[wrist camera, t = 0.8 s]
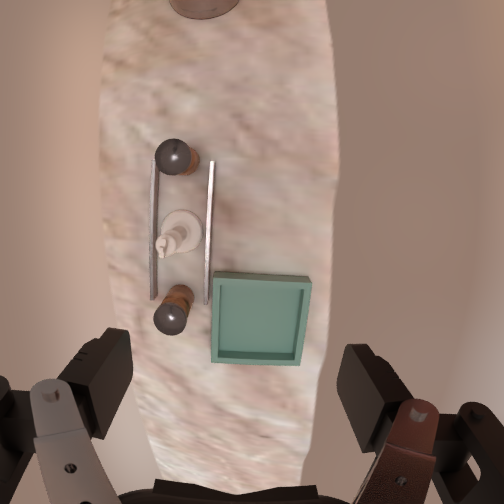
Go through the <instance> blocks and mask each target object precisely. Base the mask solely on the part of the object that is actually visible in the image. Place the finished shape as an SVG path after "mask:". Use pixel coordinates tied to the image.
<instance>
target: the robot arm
mask: <svg viewBox="0 0 504 504" xmlns="http://www.w3.org/2000/svg"><path fill="white" fill-rule="evenodd" d="M169 1H170V4H171V6H172V7H173V9H174V10H175V11H176V12H178V13H179V14H180V15H183V16H185V17H189V18H193V19H206V18H212V17H216V16H219V15H222V14H224V13H226V12H227V11H229V10H231V9H232V8H233V7H234V6H235V5H236V4H237V3H238V1H239V0H169ZM132 376H133V361H132V352H131V343H130V335H129V332H128V330H123V329H116V328H107V329H106V331H105V332H104V333H103V335H102V336H101V337H100V338H99V339H97V338H94V339H93V340H91V341H89V342H87V343H85V344H84V345H83V346H82V348H81V349H80V350H79V351H78V353H77V354H76V355H75V356H74V358H73V359H72V360H71V361H70V362H69V364H68V365H67V366H66V367H65V369H64V370H63V371H62V373H61V374H60V375H59V376H58V378H57V379H46V380H42V381H40V382H38V383H36V384H35V385H34V386H33V387H32V388H31V390H30V391H19V390H11V387H10V385H9V382H8V380H7V379H6V378H5V377H3V376H0V504H9V503H10V501H11V499H12V497H13V495H14V492H15V490H16V488H17V486H18V484H19V482H20V480H21V478H22V475H23V473H24V471H25V469H26V467H27V465H28V463H29V461H30V459H31V457H32V456H33V454H34V453H36V454H37V458H38V461H39V466H40V470H41V474H42V477H43V481H44V484H45V487H46V491H47V494H48V497H49V500H50V503H51V504H350V503H348V502H345V501H342V500H339V499H336V498H332V497H328V496H323V495H318V492H317V488H316V485H309V486H294V487H276V488H272V489H267V490H262V491H257V492H252V493H247V494H241V495H234V494H229V493H225V492H221V491H217V490H214V489H210V488H206V487H203V486H200V485H196V484H190V483H182V482H174V481H167V480H160V479H155V483H154V487H153V489H142V490H136V491H131V492H128V493H124V494H121V495H119V496H117V494H116V492H115V490H114V489H113V487H112V485H111V483H110V481H109V479H108V477H107V475H106V473H105V471H104V469H103V467H102V465H101V462H100V460H99V458H98V456H97V454H96V452H95V449H94V447H93V444H92V442H91V439H92V437H94V438H98V439H102V440H104V438H105V436H106V434H107V431H108V429H109V427H110V425H111V423H112V420H113V418H114V416H115V414H116V412H117V410H118V407H119V405H120V403H121V401H122V399H123V397H124V394H125V392H126V390H127V388H128V386H129V384H130V382H131V380H132ZM337 392H338V395H339V397H340V399H341V402H342V404H343V407H344V409H345V412H346V414H347V416H348V419H349V421H350V424H351V426H352V428H353V431H354V433H355V436H356V438H357V441H358V443H359V445H360V448H361V451H362V453H368V452H375V453H376V457H375V459H374V461H373V463H372V465H371V467H370V469H369V471H368V473H367V475H366V477H365V479H364V481H363V483H362V485H361V487H360V489H359V490H358V492H357V494H356V496H355V497H354V499H353V501H352V503H351V504H424V502H425V499H426V495H427V492H428V488H429V485H430V481H431V479H432V481H433V483H434V485H435V487H436V489H437V492H438V494H439V496H440V498H441V500H442V502H443V504H504V426H503V425H502V424H501V422H500V421H499V420H498V419H497V417H496V416H495V415H494V414H493V413H492V411H491V410H490V409H489V408H488V407H486V406H485V405H483V404H481V403H477V402H467V403H465V404H463V405H462V406H461V408H460V409H459V412H458V413H457V414H439V412H438V410H437V408H436V407H435V406H434V405H433V404H431V403H430V402H428V401H425V400H422V399H414V398H413V396H412V395H411V393H410V392H409V391H408V389H407V388H406V386H405V385H404V383H403V382H402V381H401V379H399V376H398V375H397V374H396V372H394V370H393V368H392V367H391V365H390V364H389V363H388V362H387V361H385V360H384V359H383V358H381V357H380V356H375V354H374V353H373V351H372V350H371V349H370V347H369V346H368V345H367V344H347V346H346V347H345V350H344V354H343V358H342V362H341V366H340V370H339V373H338V378H337ZM471 455H472V456H473V457H474V459H475V461H476V462H477V464H478V466H479V468H480V471H481V476H480V480H479V481H478V480H477V479H476V477H475V475H474V473H473V472H472V470H471V468H470V466H469V465H468V463H467V461H468V460H469V458H470V457H471Z"/></svg>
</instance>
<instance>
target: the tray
mask: <svg viewBox="0 0 504 504" xmlns="http://www.w3.org/2000/svg"><path fill="white" fill-rule="evenodd" d="M311 289H312V282H311V280H310V279H309V277H305V276H285V275H267V274H249V273H232V272H215V273H214V276H213V297H212V337H211V363H226V364H246V365H278V366H300V362H301V356H302V350H303V344H304V337H305V331H306V324H307V317H308V311H309V303H310V296H311Z"/></svg>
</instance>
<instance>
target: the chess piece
mask: <svg viewBox="0 0 504 504" xmlns="http://www.w3.org/2000/svg"><path fill="white" fill-rule="evenodd" d="M202 237H203V226H202V223H201V221H200V220H199V218H198V217H197V216H196V215H195V214H193V213H192V212H190V211H187V210H177V211H174V212H172V213H170V214H169V215H168V216H167V217H166V218H165V219H164V221H163V223H162V226H161V236H159V237H158V239H157V240H156V249H157V251H158V253H159V258H163V259H164V258H165V256H170V255H172V254H173V253H174V252H178V253H186V252H189V251H191V250H193V249H195V248H196V247H197V246H198V245H199V244H200V242H201V240H202Z"/></svg>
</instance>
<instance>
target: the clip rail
mask: <svg viewBox="0 0 504 504" xmlns="http://www.w3.org/2000/svg"><path fill="white" fill-rule="evenodd" d="M198 166H199V156H198V154H197V152H196V151H195V150H194V149H192V148H191V147H189V146H188V145H187V144H186V143H185V142H183V141H181V140H179V139H168V140H166V141H164V142H163V143H161V144H160V145H159V147H158V148H157V150H156V153H155V160H152V171H151V190H150V225H149V268H150V300H154V299H155V298H156V296H157V249H156V240H157V207H158V183H159V170H160V171H161V172H163V173H164V174H167V175H189V174H192V173H193V172H195V171H196V169H197V168H198ZM214 176H215V162H214V161H210V173H209V189H208V207H207V227H206V251H205V282H204V305H208V301H209V280H210V252H211V230H212V210H213V193H214ZM193 302H194V294H193V292H192V290H191V289H190V288H189V287H187V286H185V285H175V286H173V287H172V288H171V289H170V291H169V292H168V294H167V295H166V297H165V299H164V300H163V302H162V304H161V305H160V306H159V307H158V308H157V310H156V311H155V313H154V324H155V326H156V327H157V329H158V330H159V331H160V332H162V333H164V334H166V335H177V334H179V333H181V332H182V331H183V330H184V328H185V326H186V323H187V317H188V315H189V312H190V309H191V307H192V304H193Z"/></svg>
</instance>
